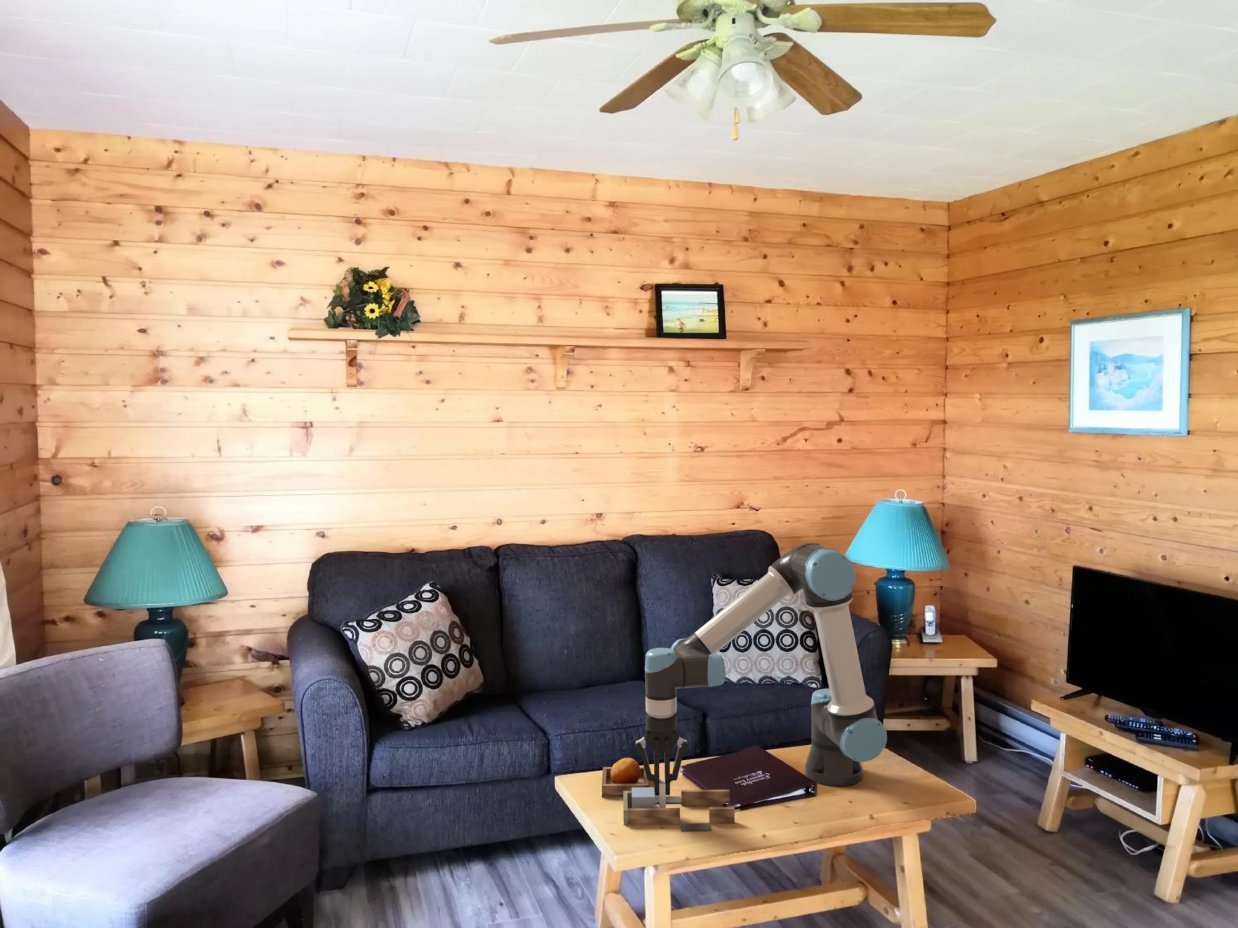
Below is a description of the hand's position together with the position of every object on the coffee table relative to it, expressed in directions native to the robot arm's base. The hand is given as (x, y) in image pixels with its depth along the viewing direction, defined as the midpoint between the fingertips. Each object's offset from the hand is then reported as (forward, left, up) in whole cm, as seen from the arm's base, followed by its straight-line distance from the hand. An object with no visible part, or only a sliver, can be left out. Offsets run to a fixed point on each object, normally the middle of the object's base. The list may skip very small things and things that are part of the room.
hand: (662, 807), depth 222 cm
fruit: (+9, -16, -1) cm, 18 cm away
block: (+5, 0, -2) cm, 5 cm away
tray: (+9, -16, -2) cm, 18 cm away
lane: (-4, 0, -2) cm, 4 cm away
